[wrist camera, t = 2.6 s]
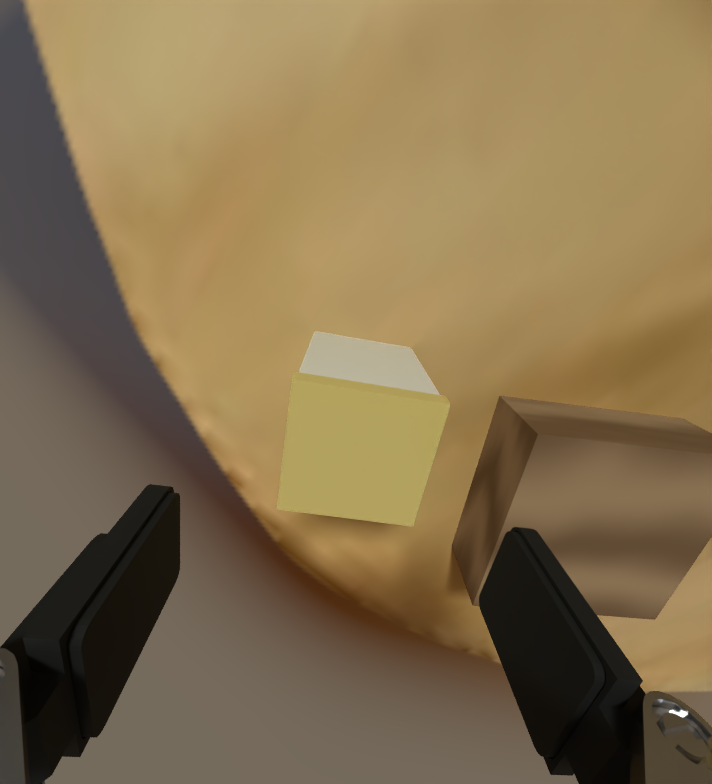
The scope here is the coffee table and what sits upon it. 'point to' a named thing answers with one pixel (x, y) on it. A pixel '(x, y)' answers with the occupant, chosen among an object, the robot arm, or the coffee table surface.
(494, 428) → the walnut box
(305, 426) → the tea tin
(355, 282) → the coffee table surface
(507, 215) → the coffee table surface
